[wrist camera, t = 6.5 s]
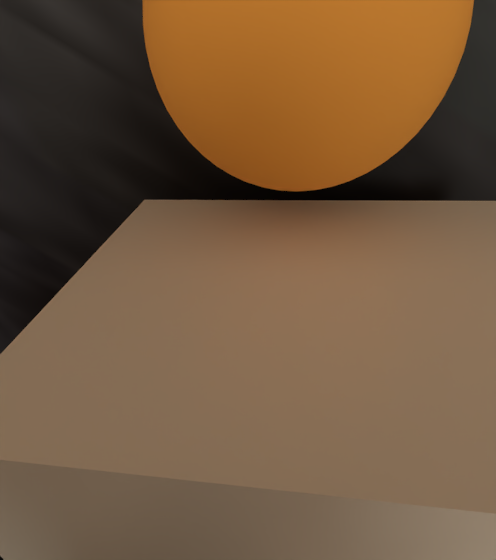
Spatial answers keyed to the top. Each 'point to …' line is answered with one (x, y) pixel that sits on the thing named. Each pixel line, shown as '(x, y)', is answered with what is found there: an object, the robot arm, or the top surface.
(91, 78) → the top surface
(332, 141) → the ball
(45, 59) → the top surface
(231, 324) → the cream cube
